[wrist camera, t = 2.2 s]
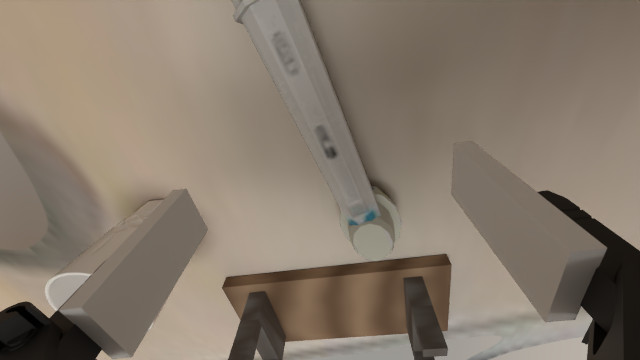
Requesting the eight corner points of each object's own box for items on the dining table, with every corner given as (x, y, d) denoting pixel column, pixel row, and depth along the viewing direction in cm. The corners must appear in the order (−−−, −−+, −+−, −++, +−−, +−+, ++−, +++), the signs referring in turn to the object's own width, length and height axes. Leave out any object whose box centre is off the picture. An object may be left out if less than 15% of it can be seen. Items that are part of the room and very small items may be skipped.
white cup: (117, 206, 28) (19, 286, 19) (177, 184, 26) (101, 262, 18) (164, 257, 31) (100, 344, 23) (220, 240, 30) (174, 328, 21)
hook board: (446, 254, 29) (487, 337, 21) (443, 319, 35) (474, 403, 27) (226, 277, 33) (192, 355, 25) (256, 333, 39) (237, 410, 31)
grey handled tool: (267, -111, 13) (419, 273, 21) (294, -53, 19) (404, 226, 27) (184, -50, 14) (356, 289, 22) (234, -15, 20) (355, 241, 28)
